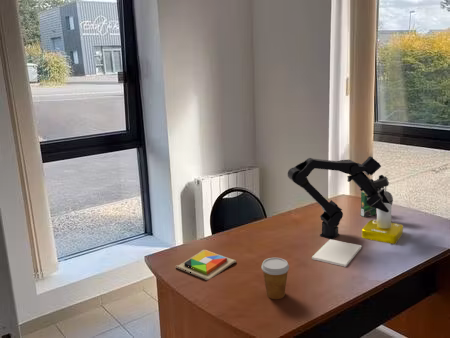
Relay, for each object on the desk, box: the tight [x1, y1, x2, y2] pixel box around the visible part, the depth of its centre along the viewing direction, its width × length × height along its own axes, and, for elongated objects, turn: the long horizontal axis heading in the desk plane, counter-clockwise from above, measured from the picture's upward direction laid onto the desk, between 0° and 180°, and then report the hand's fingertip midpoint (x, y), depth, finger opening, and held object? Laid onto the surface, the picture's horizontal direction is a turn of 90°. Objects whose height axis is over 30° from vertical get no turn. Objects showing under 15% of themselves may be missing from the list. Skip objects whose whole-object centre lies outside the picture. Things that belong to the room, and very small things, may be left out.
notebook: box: [311, 239, 362, 268], centre depth 184 cm, size 14×20×1 cm
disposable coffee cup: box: [261, 257, 290, 300], centre depth 154 cm, size 10×10×12 cm
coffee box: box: [360, 191, 377, 218], centre depth 223 cm, size 8×3×13 cm, turn 112°
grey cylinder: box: [376, 203, 392, 229], centre depth 198 cm, size 6×6×10 cm
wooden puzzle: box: [175, 249, 237, 281], centre depth 178 cm, size 18×19×4 cm
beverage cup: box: [384, 186, 394, 207], centre depth 212 cm, size 7×7×20 cm
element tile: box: [361, 219, 404, 245], centre depth 200 cm, size 15×15×5 cm
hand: (388, 208), depth 196 cm, fingers open, 9 cm apart
